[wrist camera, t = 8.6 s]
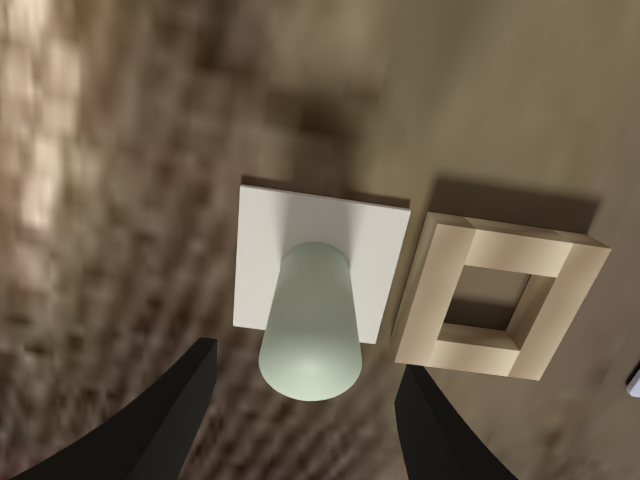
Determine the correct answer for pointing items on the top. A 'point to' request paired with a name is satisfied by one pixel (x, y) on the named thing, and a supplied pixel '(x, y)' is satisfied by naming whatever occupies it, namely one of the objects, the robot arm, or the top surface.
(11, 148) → the top surface
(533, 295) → the pocket holder
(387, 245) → the pad
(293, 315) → the sage peg
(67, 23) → the top surface
